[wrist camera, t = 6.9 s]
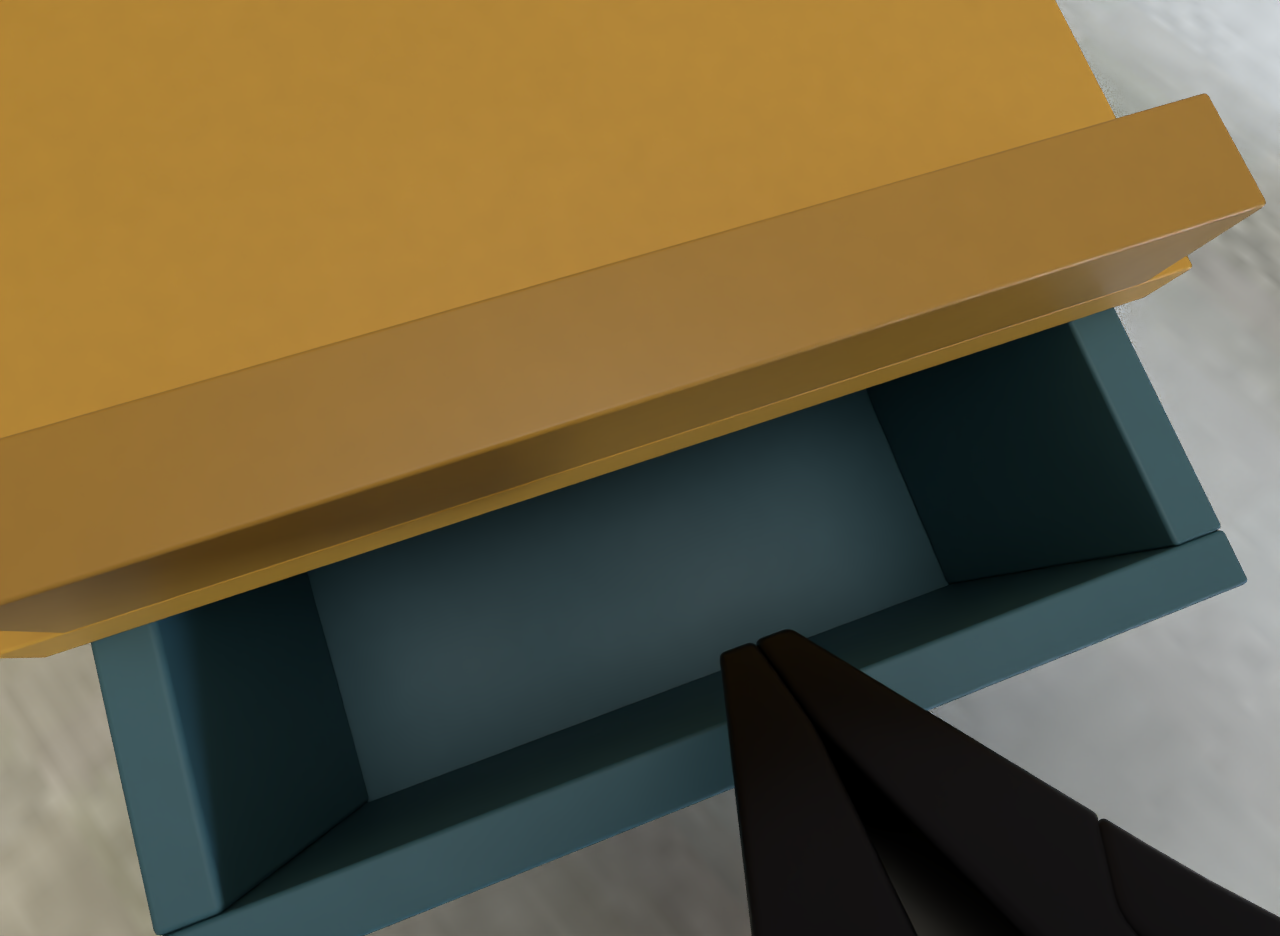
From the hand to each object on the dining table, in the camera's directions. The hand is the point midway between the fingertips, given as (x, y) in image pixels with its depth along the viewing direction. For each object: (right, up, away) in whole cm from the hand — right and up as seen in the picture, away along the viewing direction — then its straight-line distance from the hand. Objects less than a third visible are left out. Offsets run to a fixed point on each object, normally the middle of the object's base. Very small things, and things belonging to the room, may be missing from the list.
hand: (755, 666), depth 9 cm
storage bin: (-2, +3, +10) cm, 10 cm away
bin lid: (-3, +9, +3) cm, 10 cm away
